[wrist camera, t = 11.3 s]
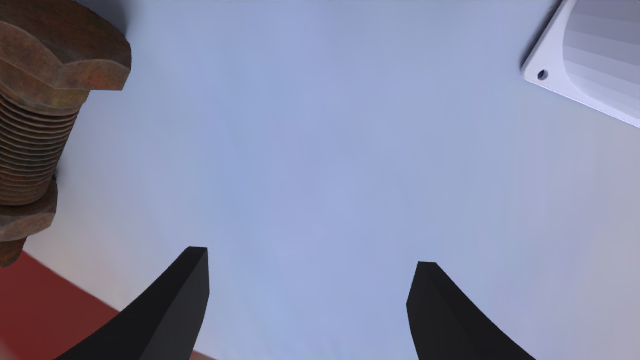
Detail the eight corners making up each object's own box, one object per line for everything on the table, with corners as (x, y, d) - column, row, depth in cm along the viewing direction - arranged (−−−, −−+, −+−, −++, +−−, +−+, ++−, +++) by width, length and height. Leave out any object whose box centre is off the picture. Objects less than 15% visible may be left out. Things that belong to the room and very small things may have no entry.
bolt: (16, 208, 25) (95, 0, 19) (62, 264, 24) (160, 65, 18) (-111, 237, 20) (-59, -39, 13) (-58, 310, 19) (23, 50, 13)
